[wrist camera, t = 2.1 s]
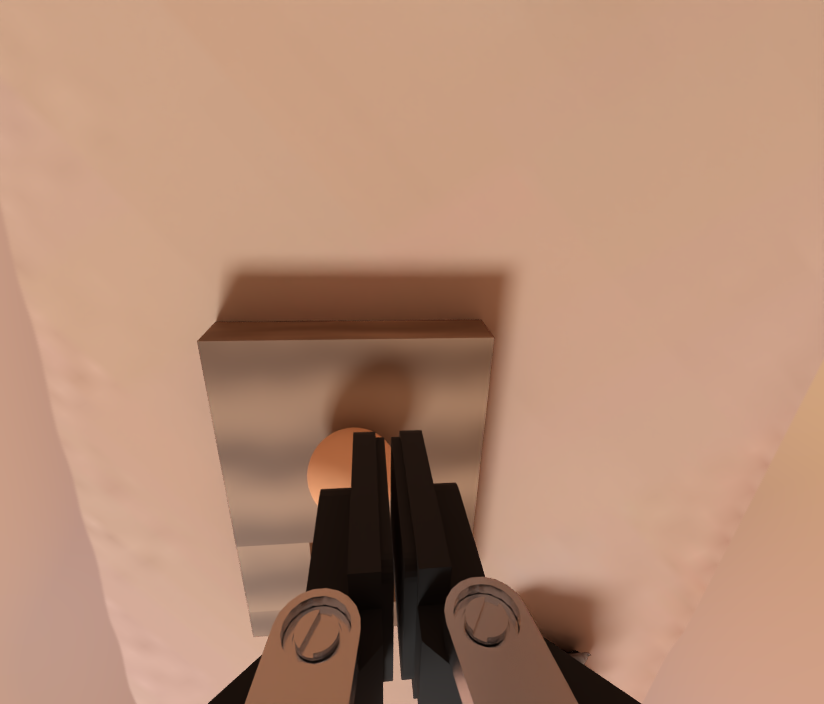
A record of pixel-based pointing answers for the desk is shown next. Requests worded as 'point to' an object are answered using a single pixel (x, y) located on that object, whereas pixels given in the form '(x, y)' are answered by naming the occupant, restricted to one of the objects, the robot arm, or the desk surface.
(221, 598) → the desk surface
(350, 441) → the ball
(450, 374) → the board
